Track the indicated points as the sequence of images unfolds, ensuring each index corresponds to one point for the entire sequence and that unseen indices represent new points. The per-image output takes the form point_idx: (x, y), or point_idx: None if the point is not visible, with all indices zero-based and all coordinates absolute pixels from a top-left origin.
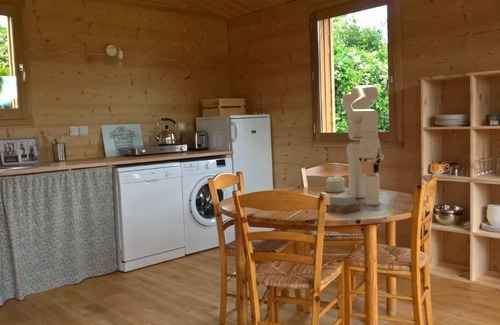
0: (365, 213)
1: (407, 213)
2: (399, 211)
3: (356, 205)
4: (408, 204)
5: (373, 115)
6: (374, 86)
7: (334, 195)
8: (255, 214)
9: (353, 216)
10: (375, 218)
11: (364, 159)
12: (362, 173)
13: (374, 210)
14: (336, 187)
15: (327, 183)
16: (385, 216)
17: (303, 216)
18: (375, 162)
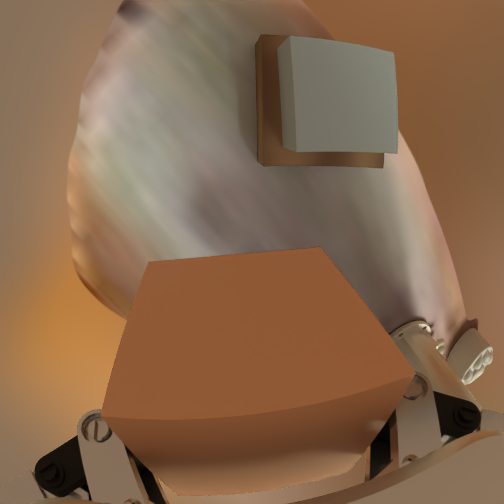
0: (189, 120)
1: (73, 252)
2: (116, 262)
3: (262, 130)
4: None
5: None
6: None
7: (396, 92)
8: None
9: (189, 34)
10: (88, 79)
11: (391, 451)
12: (309, 248)
13: (204, 205)
14: (465, 347)
15: (487, 341)
16: (83, 140)
17: None
18: (107, 442)
